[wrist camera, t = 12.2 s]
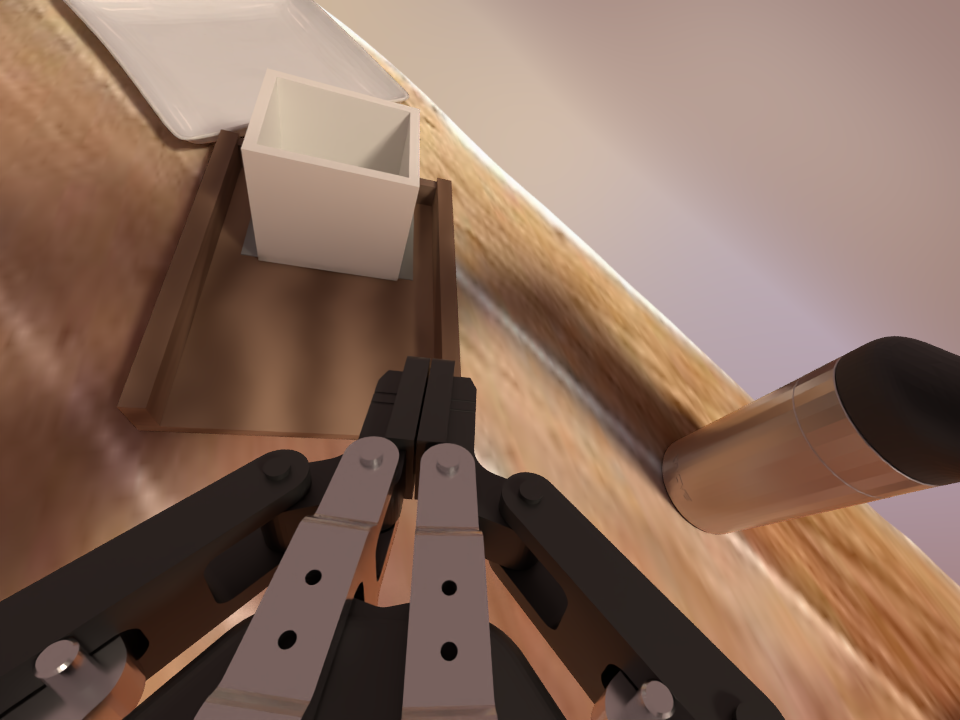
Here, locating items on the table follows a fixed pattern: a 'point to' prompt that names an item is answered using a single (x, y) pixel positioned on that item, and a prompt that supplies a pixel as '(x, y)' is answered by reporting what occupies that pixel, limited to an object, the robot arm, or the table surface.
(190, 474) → the table surface
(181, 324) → the bay
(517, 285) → the table surface
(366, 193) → the box
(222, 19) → the square plate
